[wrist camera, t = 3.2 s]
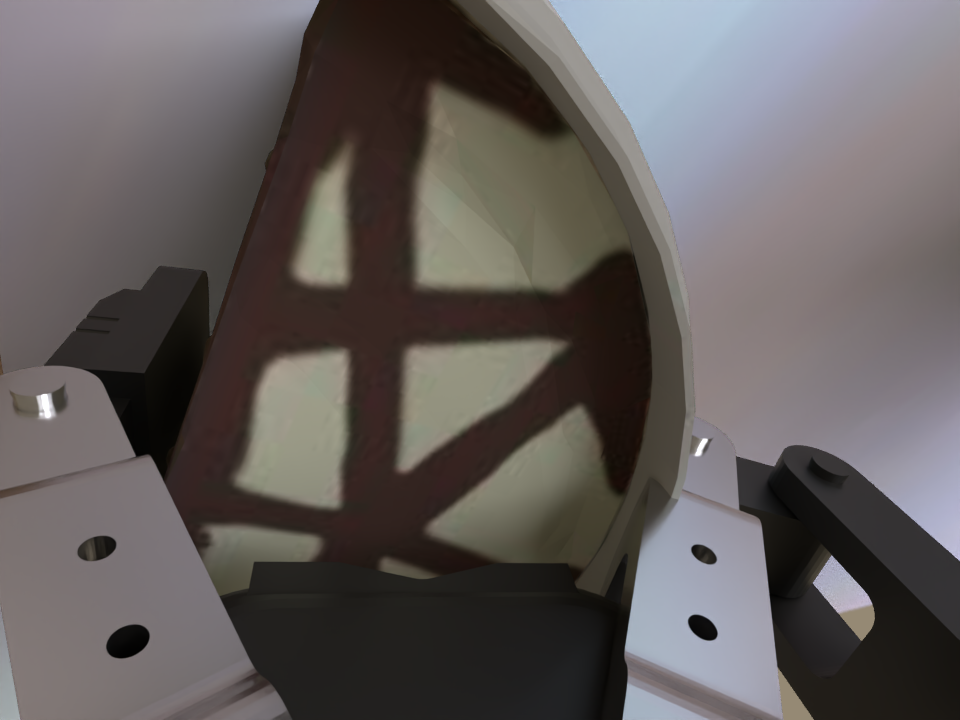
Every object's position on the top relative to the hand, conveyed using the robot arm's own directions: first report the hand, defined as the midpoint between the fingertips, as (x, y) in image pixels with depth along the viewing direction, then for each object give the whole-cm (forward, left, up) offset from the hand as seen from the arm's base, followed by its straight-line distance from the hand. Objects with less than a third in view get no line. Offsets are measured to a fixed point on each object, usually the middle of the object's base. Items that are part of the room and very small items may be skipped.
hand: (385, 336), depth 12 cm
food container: (0, 0, -4) cm, 4 cm away
